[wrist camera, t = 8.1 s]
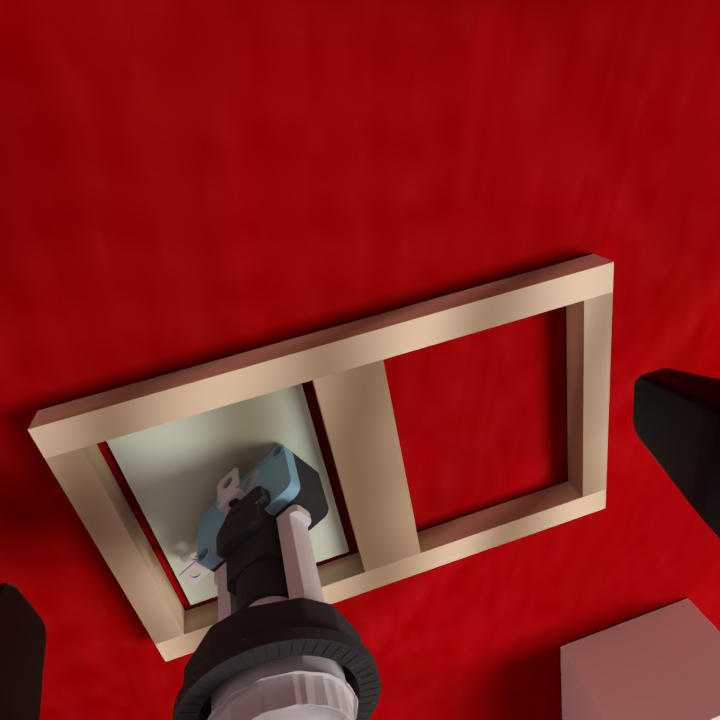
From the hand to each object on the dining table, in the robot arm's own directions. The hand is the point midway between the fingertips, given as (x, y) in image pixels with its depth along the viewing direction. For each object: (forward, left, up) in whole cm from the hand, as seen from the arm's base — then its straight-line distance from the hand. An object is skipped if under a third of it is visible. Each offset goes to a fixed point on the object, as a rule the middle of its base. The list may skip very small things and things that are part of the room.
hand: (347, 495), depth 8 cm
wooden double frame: (-2, +9, -12) cm, 15 cm away
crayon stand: (-15, +33, -12) cm, 38 cm away
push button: (+4, +9, -12) cm, 16 cm away
